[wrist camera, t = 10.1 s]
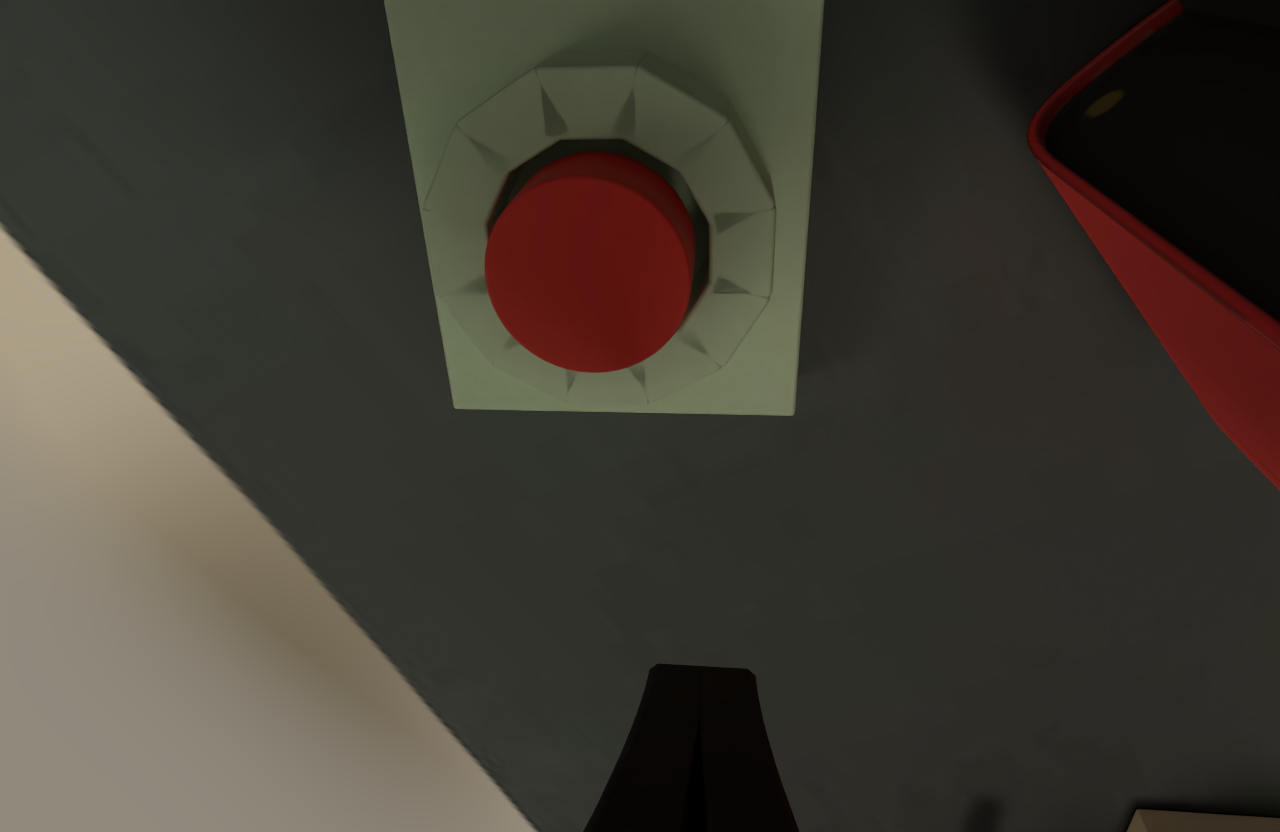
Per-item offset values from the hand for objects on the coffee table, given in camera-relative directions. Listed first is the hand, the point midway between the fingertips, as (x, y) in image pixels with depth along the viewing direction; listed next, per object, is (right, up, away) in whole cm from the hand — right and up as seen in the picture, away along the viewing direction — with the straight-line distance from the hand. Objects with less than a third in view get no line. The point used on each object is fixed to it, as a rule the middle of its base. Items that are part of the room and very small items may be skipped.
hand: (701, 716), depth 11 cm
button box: (-1, +9, +7) cm, 11 cm away
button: (-2, +7, +4) cm, 9 cm away
